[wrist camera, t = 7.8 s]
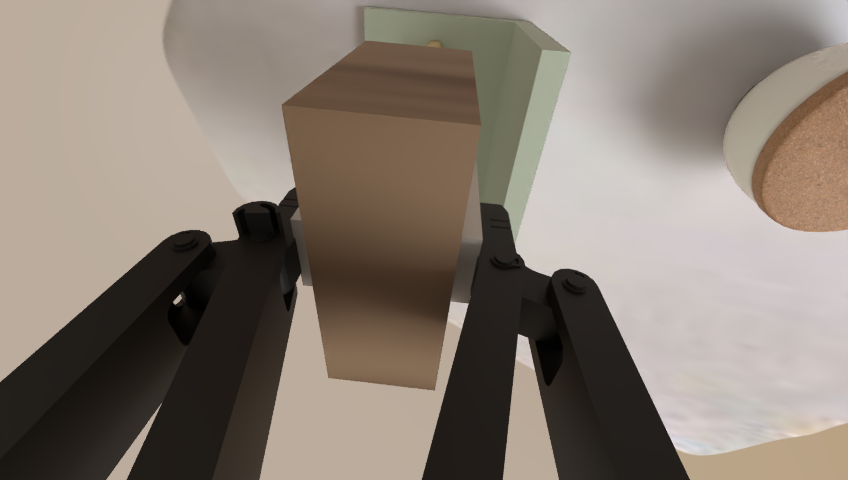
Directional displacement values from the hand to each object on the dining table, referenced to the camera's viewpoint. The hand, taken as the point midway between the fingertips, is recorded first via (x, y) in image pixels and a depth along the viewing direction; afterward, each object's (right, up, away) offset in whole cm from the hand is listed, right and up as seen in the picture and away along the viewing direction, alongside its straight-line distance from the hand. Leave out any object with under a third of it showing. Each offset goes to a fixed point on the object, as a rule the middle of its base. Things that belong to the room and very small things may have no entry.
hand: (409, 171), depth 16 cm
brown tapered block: (0, 0, 0) cm, 0 cm away
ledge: (+2, +5, +13) cm, 14 cm away
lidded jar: (+26, +6, +9) cm, 29 cm away
